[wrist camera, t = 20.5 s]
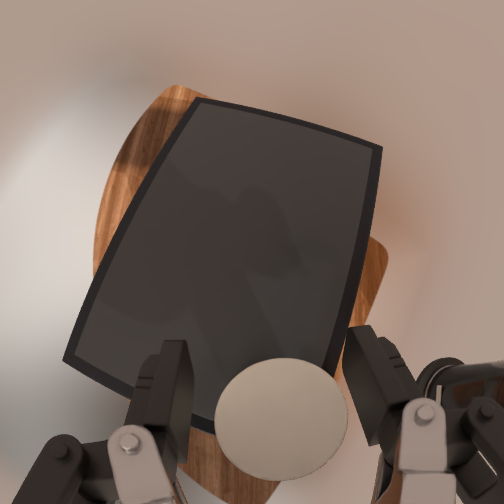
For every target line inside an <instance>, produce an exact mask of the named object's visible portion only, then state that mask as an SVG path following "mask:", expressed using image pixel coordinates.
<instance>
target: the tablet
mask: <svg viewBox="0 0 504 504" xmlns="http://www.w3.org/2000/svg"><path fill="white" fill-rule="evenodd" d="M382 151H383V147H382V146H380V145H377V144H374V143H372V142H369V141H366V140H363V139H360V138H358V137H355V136H351V135H349V134H346V133H343V132H340V131H336V130H333V129H330V128H327V127H324V126H320V125H317V124H314V123H310V122H307V121H303V120H300V119H296V118H292V117H289V116H285V115H281V114H277V113H273V112H268V111H265V110H261V109H256V108H252V107H247V106H243V105H238V104H233V103H228V102H223V101H218V100H212V99H207V98H201V97H196V98H195V99H194V100H193V102H192V103H191V105H190V106H189V108H188V109H187V111H186V112H185V114H184V115H183V116H182V118H181V119H180V121H179V122H178V124H177V126H176V127H175V129H174V130H173V132H172V133H171V135H170V136H169V138H168V140H167V141H166V143H165V144H164V146H163V147H162V149H161V151H160V152H159V154H158V156H157V157H156V159H155V161H154V162H153V164H152V166H151V167H150V169H149V171H148V172H147V174H146V176H145V178H144V179H143V181H142V183H141V185H140V186H139V188H138V190H137V192H136V194H135V195H134V197H133V199H132V201H131V203H130V205H129V207H128V208H127V210H126V212H125V214H124V216H123V218H122V220H121V222H120V224H119V226H118V228H117V230H116V232H115V234H114V236H113V238H112V240H111V242H110V244H109V246H108V248H107V250H106V252H105V254H104V257H103V259H102V261H101V263H100V265H99V268H98V270H97V272H96V274H95V276H94V279H93V281H92V283H91V286H90V288H89V290H88V293H87V295H86V298H85V300H84V302H83V305H82V307H81V310H80V312H79V315H78V318H77V320H76V323H75V326H74V328H73V331H72V334H71V336H70V339H69V342H68V345H67V348H66V351H65V353H64V356H63V359H62V360H63V362H65V363H66V364H68V365H70V366H71V367H73V368H74V369H76V370H78V371H79V372H81V373H83V374H84V375H86V376H88V377H89V378H91V379H93V380H95V381H96V382H98V383H100V384H102V385H104V386H105V387H107V388H109V389H111V390H113V391H114V392H116V393H118V394H120V395H122V396H124V397H126V398H128V399H130V400H131V398H132V395H133V391H134V388H135V384H136V381H137V379H138V374H139V371H140V368H141V365H142V363H143V362H144V361H145V360H146V359H147V358H148V357H149V355H160V351H161V347H162V343H163V341H164V340H186V342H187V345H188V349H189V354H190V358H191V362H192V366H193V371H194V380H195V385H194V395H193V404H192V414H191V423H190V427H192V428H195V429H198V430H200V431H203V432H205V433H208V434H211V435H214V436H216V432H215V412H216V407H217V404H218V401H219V399H220V396H221V394H222V393H223V391H224V389H225V388H226V386H227V385H228V384H229V383H230V382H231V380H232V379H234V378H235V377H236V376H237V375H238V374H239V373H241V372H242V371H243V370H245V369H246V368H248V367H249V366H251V365H253V364H256V363H259V362H262V361H266V360H269V359H276V358H292V359H299V360H303V361H306V362H309V363H312V364H314V365H316V366H318V367H320V368H321V369H322V370H324V371H325V372H327V373H328V374H329V375H330V376H331V377H332V378H333V377H334V374H335V371H336V368H337V364H338V361H339V358H340V355H341V351H342V348H343V344H344V341H345V337H346V334H347V330H348V327H349V323H350V319H351V315H352V311H353V308H354V304H355V300H356V296H357V291H358V287H359V283H360V279H361V274H362V270H363V265H364V260H365V256H366V251H367V246H368V241H369V236H370V230H371V225H372V219H373V213H374V208H375V202H376V195H377V188H378V182H379V175H380V167H381V159H382Z"/></svg>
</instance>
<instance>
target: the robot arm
mask: <svg viewBox="0 0 504 504" xmlns="http://www.w3.org/2000/svg"><path fill="white" fill-rule="evenodd" d="M342 369H343V374H344V377H345V379H346V382H347V385H348V388H349V390H350V393H351V396H352V399H353V402H354V404H355V407H356V410H357V413H358V416H359V419H360V422H361V424H362V427H363V430H364V433H365V436H366V439H367V442H368V445H369V446H373V445H377V444H380V447H381V449H382V452H381V454H380V457H379V462H378V469H377V474H376V480H375V486H374V491H373V497H372V501H371V504H456V503H455V502H456V493H457V495H458V496H459V498H460V499H461V501H462V502H463V503H464V504H504V360H497V361H490V362H483V363H473V364H464V365H447V366H443V367H441V368H439V369H438V370H436V371H435V372H434V373H433V374H432V375H431V377H430V378H429V380H428V381H427V383H426V386H425V389H424V393H423V394H422V392H421V390H420V388H419V387H418V385H417V383H416V381H415V379H414V378H413V376H412V374H411V372H410V371H409V369H408V367H407V366H406V364H405V362H404V360H403V358H401V355H400V353H399V352H398V350H397V348H396V346H395V345H394V344H393V343H391V342H390V341H389V340H388V339H386V338H385V337H380V338H377V336H376V334H375V332H374V331H373V329H372V328H371V326H370V325H363V326H356V327H349V328H348V330H347V335H346V341H345V346H344V352H343V358H342ZM194 385H195V380H194V371H193V366H192V362H191V358H190V354H189V349H188V345H187V342H186V340H164V341H163V343H162V347H161V351H160V355H149V357H148V358H147V359H146V360H145V361H144V362H143V363H142V365H141V368H140V371H139V374H138V379H137V381H136V384H135V388H134V391H133V395H132V398H131V402H130V405H129V409H128V412H127V416H126V420H125V423H124V426H123V427H121V428H118V429H117V430H116V431H114V432H113V433H112V435H111V436H110V438H109V439H108V440H105V441H100V442H93V443H85V444H81V443H80V442H79V441H78V440H77V439H76V438H75V437H73V436H71V435H67V434H61V435H57V436H55V437H53V438H51V439H50V440H49V441H48V442H47V443H46V444H45V446H44V448H43V449H42V451H41V453H40V455H39V456H38V458H37V459H36V461H35V463H34V465H33V466H32V468H31V470H30V471H29V473H28V475H27V477H26V478H25V480H24V482H23V484H22V486H21V487H20V489H19V491H18V493H17V495H16V496H15V498H14V500H13V502H12V504H114V503H115V501H116V500H119V499H120V502H121V504H188V502H187V500H186V498H185V496H184V494H183V491H182V489H181V486H180V484H179V482H178V479H177V477H176V469H177V463H186V464H187V455H188V444H189V433H190V423H191V414H192V404H193V395H194ZM478 451H480V452H481V453H482V455H483V456H484V457H485V459H486V460H487V461H488V463H489V464H490V465H491V466H492V467H493V469H494V470H495V472H496V473H497V476H496V475H495V473H494V472H493V471H492V469H491V468H490V467H489V465H487V463H486V462H485V460H484V459H483V458H482V456H481V455H480V454H479V452H478Z"/></svg>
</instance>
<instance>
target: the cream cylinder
mask: <svg viewBox="0 0 504 504" xmlns="http://www.w3.org/2000/svg"><path fill="white" fill-rule="evenodd" d="M347 424H348V409H347V404H346V400H345V397H344V395H343V392H342V390H341V389H340V387H339V385H338V384H337V383H336V381H335V380H334V379H333V378H332V377H331V376H330V375H329V374H328V373H327V372H325V371H324V370H322V369H321V368H320V367H318V366H316V365H314V364H312V363H309V362H306V361H303V360H299V359H292V358H276V359H269V360H266V361H262V362H259V363H256V364H253V365H251V366H249V367H248V368H246V369H245V370H243V371H242V372H241V373H239V374H238V375H237V376H236V377H235V378H234V379H232V380H231V382H230V383H229V384H228V385H227V386H226V388H225V389H224V391H223V393H222V394H221V396H220V399H219V401H218V404H217V407H216V412H215V432H216V437H217V440H218V443H219V445H220V447H221V449H222V451H223V452H224V454H225V455H226V457H227V458H228V459H229V460H230V461H231V462H232V463H233V464H234V465H235V466H236V467H238V468H239V469H241V470H242V471H244V472H245V473H247V474H249V475H251V476H254V477H257V478H260V479H265V480H272V481H286V480H292V479H297V478H300V477H303V476H306V475H308V474H311V473H312V472H314V471H316V470H318V469H319V468H321V467H322V466H323V465H324V464H326V463H327V462H328V461H329V460H330V459H331V458H332V456H333V455H334V454H335V453H336V452H337V450H338V449H339V447H340V445H341V443H342V441H343V439H344V437H345V433H346V430H347Z"/></svg>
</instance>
